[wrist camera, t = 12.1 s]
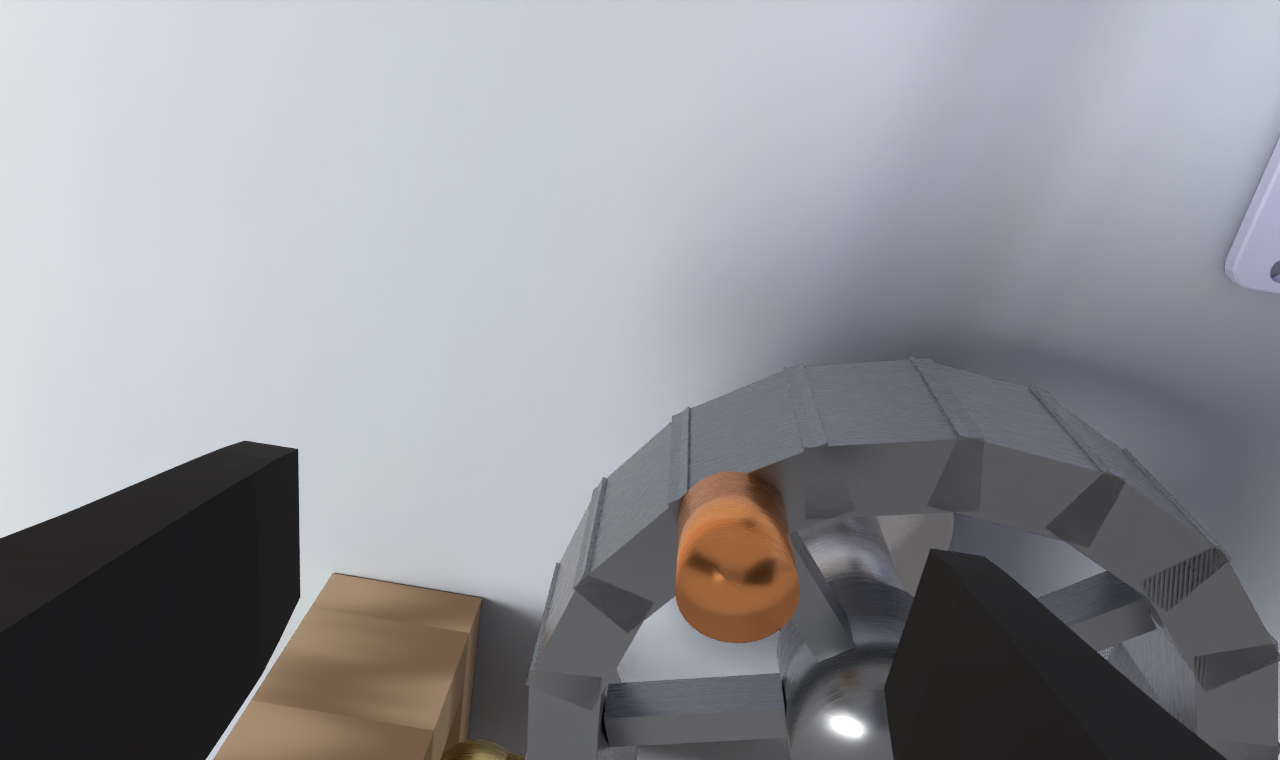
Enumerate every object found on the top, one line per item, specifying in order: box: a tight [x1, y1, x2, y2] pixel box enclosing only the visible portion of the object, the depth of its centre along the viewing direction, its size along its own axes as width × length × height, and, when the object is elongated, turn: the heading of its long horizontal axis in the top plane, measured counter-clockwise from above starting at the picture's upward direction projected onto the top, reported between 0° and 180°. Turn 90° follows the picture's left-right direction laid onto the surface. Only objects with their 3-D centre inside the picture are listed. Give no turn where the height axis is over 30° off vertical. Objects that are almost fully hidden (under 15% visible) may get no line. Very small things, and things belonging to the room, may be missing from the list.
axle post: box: [797, 512, 954, 596], centre depth 20 cm, size 6×6×4 cm
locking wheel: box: [525, 356, 1280, 760], centre depth 15 cm, size 10×12×5 cm
